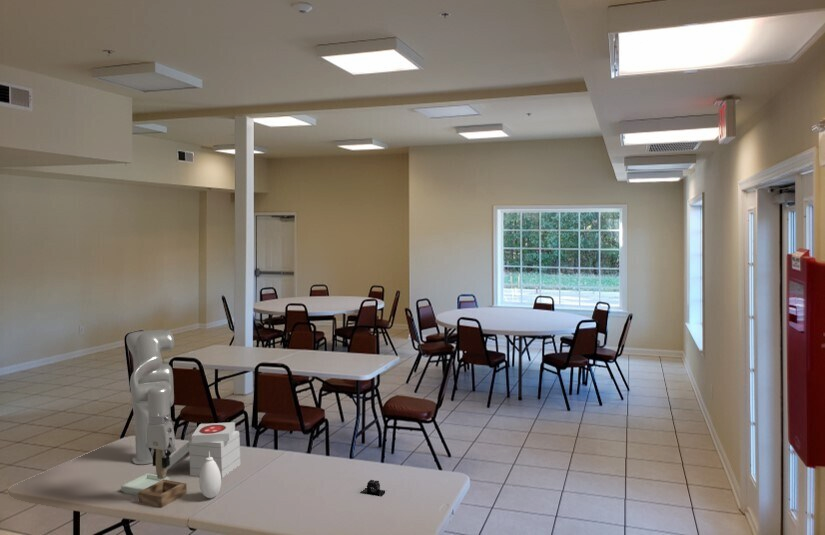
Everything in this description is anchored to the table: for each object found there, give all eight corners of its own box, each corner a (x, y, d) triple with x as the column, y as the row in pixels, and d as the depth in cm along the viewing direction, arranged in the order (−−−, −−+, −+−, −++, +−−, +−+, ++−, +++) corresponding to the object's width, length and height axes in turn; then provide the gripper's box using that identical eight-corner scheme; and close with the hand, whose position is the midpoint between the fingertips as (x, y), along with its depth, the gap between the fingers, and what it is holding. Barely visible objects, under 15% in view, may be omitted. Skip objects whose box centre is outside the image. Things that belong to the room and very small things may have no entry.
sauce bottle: (202, 503, 221) (200, 456, 220) (198, 496, 228) (196, 450, 227) (224, 498, 225) (222, 452, 224) (218, 491, 232) (217, 445, 231)
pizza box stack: (186, 458, 267) (185, 419, 266) (247, 463, 260) (245, 422, 259) (159, 475, 248) (157, 433, 247) (223, 481, 241) (222, 437, 240)
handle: (163, 481, 223) (161, 442, 222) (150, 478, 226) (148, 440, 225) (173, 476, 228) (171, 438, 226) (160, 473, 230) (158, 436, 229)
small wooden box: (164, 489, 234) (163, 479, 234) (186, 493, 230) (186, 483, 230) (138, 502, 223) (138, 492, 223) (161, 507, 219) (161, 497, 218)
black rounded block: (392, 491, 229) (391, 480, 229) (384, 499, 223) (383, 487, 222) (363, 487, 234) (363, 476, 234) (354, 494, 227) (354, 483, 227)
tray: (147, 479, 245) (147, 473, 245) (169, 483, 240) (169, 477, 240) (121, 492, 233) (120, 485, 233) (144, 496, 228) (143, 490, 228)
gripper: (183, 418, 225) (185, 465, 227) (150, 413, 232) (152, 458, 233) (168, 425, 218) (170, 473, 220) (134, 419, 225) (137, 466, 226)
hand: (161, 465), depth 226 cm, fingers closed on handle, 4 cm apart
